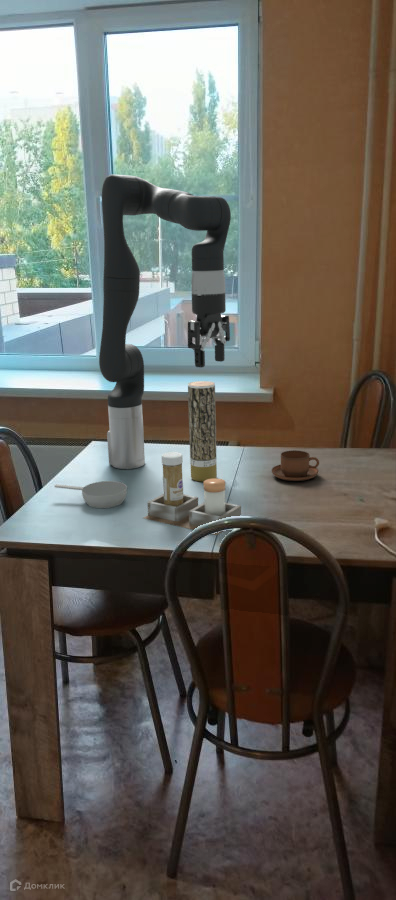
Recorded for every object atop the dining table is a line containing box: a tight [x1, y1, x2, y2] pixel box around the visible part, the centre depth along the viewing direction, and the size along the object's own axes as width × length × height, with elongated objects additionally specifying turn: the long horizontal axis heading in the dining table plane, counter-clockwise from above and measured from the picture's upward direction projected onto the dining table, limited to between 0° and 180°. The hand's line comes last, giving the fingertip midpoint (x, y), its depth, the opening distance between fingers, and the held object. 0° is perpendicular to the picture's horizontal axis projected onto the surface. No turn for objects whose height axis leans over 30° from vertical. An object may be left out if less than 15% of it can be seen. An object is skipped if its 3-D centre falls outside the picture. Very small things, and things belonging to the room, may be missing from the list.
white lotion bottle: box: [203, 477, 226, 516], centre depth 147 cm, size 5×5×9 cm
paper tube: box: [187, 380, 218, 483], centre depth 176 cm, size 7×7×25 cm
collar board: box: [143, 493, 242, 536], centre depth 151 cm, size 19×12×4 cm, turn 57°
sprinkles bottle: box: [161, 451, 184, 507], centre depth 153 cm, size 5×5×13 cm
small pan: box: [54, 480, 128, 509], centre depth 166 cm, size 11×18×4 cm, turn 78°
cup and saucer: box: [271, 450, 320, 482], centre depth 179 cm, size 12×12×6 cm
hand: (210, 364), depth 158 cm, fingers open, 8 cm apart
